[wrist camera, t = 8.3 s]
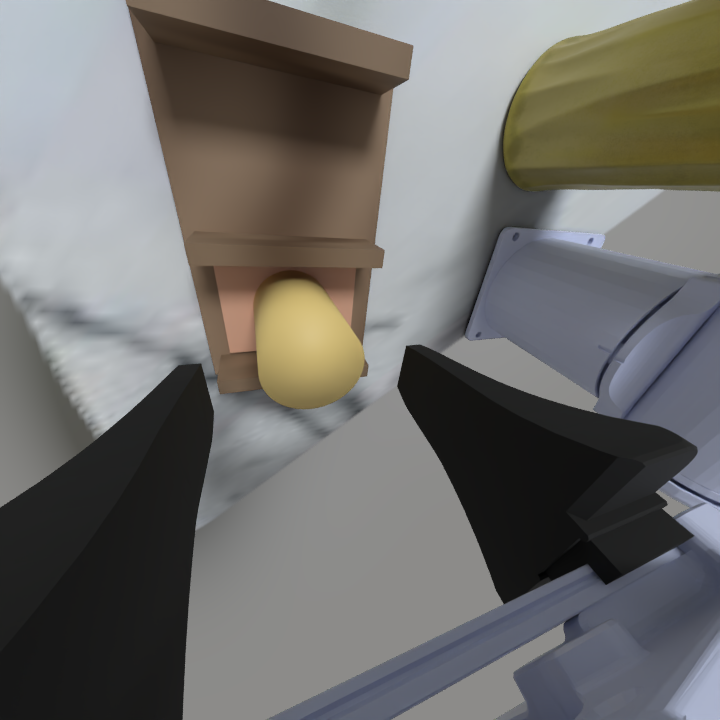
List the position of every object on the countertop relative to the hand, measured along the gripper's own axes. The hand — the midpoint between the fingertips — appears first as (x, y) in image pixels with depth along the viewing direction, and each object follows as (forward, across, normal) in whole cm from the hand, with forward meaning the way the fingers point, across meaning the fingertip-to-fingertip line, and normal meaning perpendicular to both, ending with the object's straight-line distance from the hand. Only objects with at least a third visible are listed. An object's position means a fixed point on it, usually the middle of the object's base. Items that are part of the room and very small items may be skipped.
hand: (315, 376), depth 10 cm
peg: (+6, 0, 0) cm, 6 cm away
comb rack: (+7, 0, -3) cm, 8 cm away
